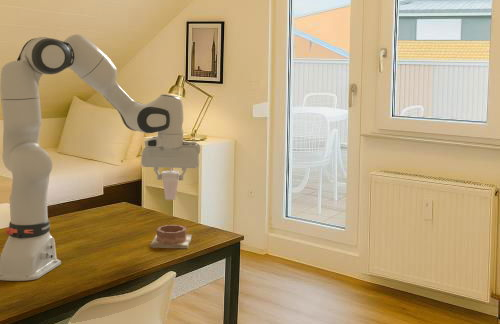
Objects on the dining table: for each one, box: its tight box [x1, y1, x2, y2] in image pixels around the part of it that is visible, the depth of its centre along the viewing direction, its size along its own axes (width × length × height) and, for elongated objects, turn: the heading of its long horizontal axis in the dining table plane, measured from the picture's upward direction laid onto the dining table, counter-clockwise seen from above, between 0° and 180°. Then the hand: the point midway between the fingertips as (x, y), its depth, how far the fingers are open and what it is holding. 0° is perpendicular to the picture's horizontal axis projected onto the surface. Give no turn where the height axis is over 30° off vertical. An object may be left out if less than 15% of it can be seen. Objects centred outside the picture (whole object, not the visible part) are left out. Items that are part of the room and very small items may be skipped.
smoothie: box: [160, 168, 181, 201], centre depth 218 cm, size 6×6×14 cm
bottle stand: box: [149, 224, 193, 249], centre depth 221 cm, size 13×13×5 cm
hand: (170, 179), depth 218 cm, fingers closed on smoothie, 6 cm apart
